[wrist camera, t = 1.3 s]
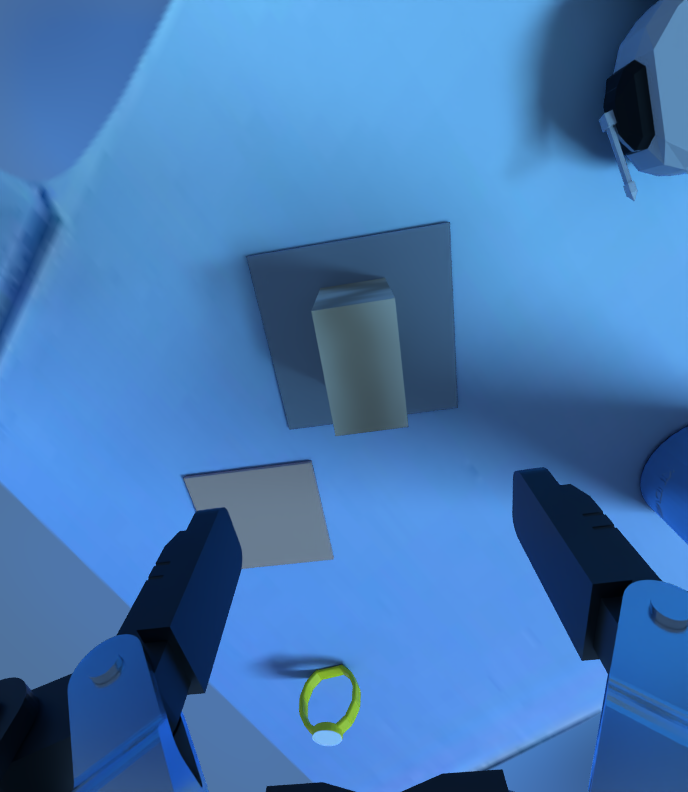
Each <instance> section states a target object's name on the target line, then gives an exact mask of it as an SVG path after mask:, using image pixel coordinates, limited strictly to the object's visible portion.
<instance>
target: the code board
mask: <svg viewBox="0 0 688 792" xmlns="http://www.w3.org/2000/svg"><path fill="white" fill-rule="evenodd" d="M246 257H247V261H248V265H249V269H250V273H251V277H252V281H253V285H254V289H255V293H256V297H257V301H258V305H259V309H260V313H261V317H262V321H263V325H264V329H265V333H266V337H267V341H268V345H269V349H270V353H271V357H272V361H273V365H274V369H275V373H276V377H277V381H278V385H279V389H280V393H281V397H282V401H283V405H284V409H285V413H286V417H287V421H288V425H289V429H290V430H291V429H298V428H306V427H313V426H321V425H329V424H333V420H332V415H331V410H330V405H329V400H328V394H327V389H326V384H325V379H324V374H323V369H322V364H321V358H320V353H319V348H318V343H317V338H316V333H315V328H314V322H313V317H312V312H311V311H312V308H313V306H314V303H315V300H316V298H317V295H318V293H319V290H320V288H325V287H331V286H338V285H344V284H350V283H356V282H363V281H369V280H375V279H381V278H385V279H386V281H387V283H388V285H389V287H390V289H391V291H392V293H393V295H394V297H395V303H396V313H397V323H398V332H399V342H400V352H401V361H402V371H403V381H404V390H405V400H406V410H407V414H412V413H420V412H428V411H435V410H443V409H450V408H458V404H457V380H456V357H455V333H454V309H453V285H452V261H451V237H450V222H446V223H440V224H435V225H429V226H423V227H417V228H411V229H405V230H399V231H393V232H387V233H381V234H375V235H369V236H364V237H358V238H352V239H346V240H340V241H334V242H328V243H322V244H316V245H310V246H304V247H298V248H293V249H287V250H281V251H275V252H269V253H263V254H257V255H251V256H246Z"/></svg>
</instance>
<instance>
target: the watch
mask: <svg viewBox="0 0 688 792" xmlns="http://www.w3.org/2000/svg"><path fill="white" fill-rule="evenodd" d="M341 675H345V676H346V677H348V678H349V679H350V680H351V682H352V685H353V691H352V701H351V704H350V706H349V708H348V710H347V712H346V715H345V716H344V717H343V718H341V719H340V720H339V721H338V722H337V723H336V724H335V723H331V722H322V723H318V724H316V725H315V726H313V725H311V724H310V722H309V720H308V702H309V699H310V697H311V694H312V691H313V689H314V688H315V687H316V686H317V685H318V684H319V682H320V681H321V680H323V679H328V678H332V677H336V676H341ZM360 698H361V692H360V688H359V686H358V683H357V681H356V679H355V677H354V675H353V674H352V672H351V671H350V670H349V669H347V668H346V667H345V666H343V665H338V666H334V667H330V668H326V669H320V670H318V669H317V670H316V671H315V672H314V673H313V674H312V675H311V676H310V677H309V679H308V680H307V682H306V683H305V685H304V687H303V690H302V692H301V695H300V699H299V712H300V716H301V719H302V721H303V723H304V726H305V727H306V728H307V729H308V731H309V732H310V733H311V734H312V738H313V740H314V741H315V742H316V743H318V744H320V745H323V746H334V745H337V744H339V743H340V742H341V741H342V739H343V734H344V733H345V732H346V731H347V730H348V729H349V728H350V727H351V726H352V724H353V723H354V721H355V718H356V716H357V714H358V712H359V707H360Z"/></svg>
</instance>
